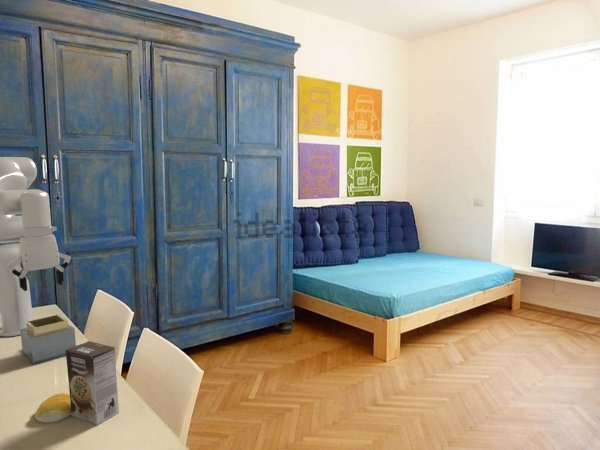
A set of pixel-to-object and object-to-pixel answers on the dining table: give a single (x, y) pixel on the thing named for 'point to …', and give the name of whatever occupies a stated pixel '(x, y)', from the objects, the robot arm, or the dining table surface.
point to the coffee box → (92, 382)
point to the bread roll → (54, 408)
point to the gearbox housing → (47, 339)
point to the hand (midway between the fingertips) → (42, 286)
